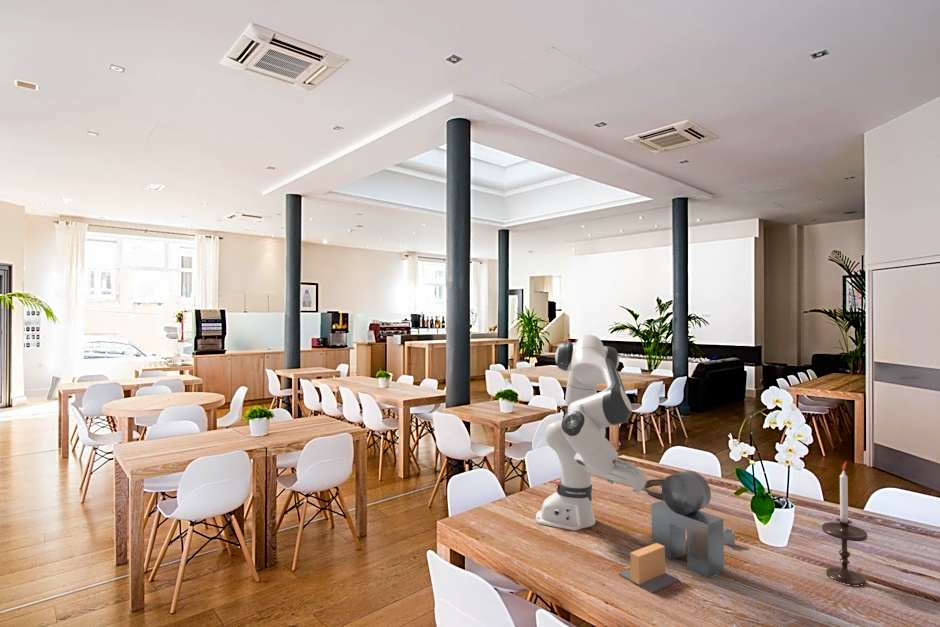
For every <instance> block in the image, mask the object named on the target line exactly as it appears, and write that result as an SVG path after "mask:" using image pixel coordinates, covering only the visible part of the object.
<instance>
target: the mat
mask: <svg viewBox="0 0 940 627" xmlns="http://www.w3.org/2000/svg"><path fill="white" fill-rule="evenodd" d="M618 576H620V577H622V578H624V579H626V580H628V581H629V580H630V582H631V583H633V584H634V585H637V583H635V582H633V581H632V580H631V570H630V568H629V569H627V570H624V571H621V572H620V573H618ZM677 582H680V579H679V578H678V577H675V576H673V575H671V574H669V573H667V572H665V573H664V574H662V575H659V576H657V577H655V578H653V579H650V580H648V581H646V582H643V583H641V584H638V585H640V586H642V587H644V588H645V589H644V588H643V589H644V590H646V589H647V590H646V591H648V590H649V591H648V592H650V591H651V592H654V591H656V590H658V591H660V590H662V589H664V587H665V588H666V586H667V587H669V586H671V585H673V584H675V583H677ZM638 585H637V586H638ZM668 585H669V586H668ZM640 586H639V587H640ZM642 587H641V588H642ZM661 588H662V589H661ZM659 589H660V590H659ZM651 592H650V593H651ZM656 592H657V591H656ZM654 593H655V592H654Z"/></svg>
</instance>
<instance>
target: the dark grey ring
mask: <svg viewBox="0 0 940 627" xmlns="http://www.w3.org/2000/svg"><path fill="white" fill-rule="evenodd" d="M664 480H665V478H663V479H661V478H657V479H649V480H648V479H647V482H646V484H645V486H644V488H643V490H644V491H645V492H647V494H649V495H650V494H651V495H650V496H652V495H653V496H652V497H655V496H656V498H658V497H660V498H659V499H663V495H662V491H661V490H660V491H661V492H654V491H650V490H648V489H647V488H649V487H652V486H661V487H660V488H662V484H663V481H664Z"/></svg>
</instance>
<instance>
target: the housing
mask: <svg viewBox="0 0 940 627" xmlns="http://www.w3.org/2000/svg"><path fill="white" fill-rule="evenodd" d="M664 479H665V480H664V481H663V484H662V495H663V498H664V499H663V498H662V499H663V500H660V501H657V502H654V503H651V545H652V544H655V543H658V544H660V545H663V546H665V558H666V559H665V560H667V559H668V560H667V561H669V560H672V561H674V560H676V559H678V557H679V558H681V557H683V555H684V556H686V561H687V562H686V566H687V570H689V571H691V570H692V571H691V572H693V571H694V572H693V573H695V572H696V574H697V573H698V575H699V576H702V577H704V576H705V578H706V577H707V578H706V579H708V578H709V579H711V578H713V577H715V576H717V575H718V574H721V573H723V572H724V571H725V562H724V561H725V560H724V559H725V557H724V556H725V554H724V553H725V552H724V550H725V548H724V535H723V530H724V518H722V517H719V516H717V515H714V514H711V513H708V512H705V511H702V510H703V509H705V508H707V506H709V504H710V503H711V497H712V492H711V488H710V486H709V484H708V482H707V480H706V479H705V478H704V476H702V475H701V474H700V473H698V472H696V471H694V470H685V471H682V472H678V473H675V474H674V473H673V474H670V475H668V476H666V477H665V478H664ZM685 554H686V555H685ZM680 556H681V557H680ZM675 558H676V559H675ZM673 559H674V560H673ZM714 575H715V576H714ZM712 576H713V577H712ZM710 577H711V578H710Z"/></svg>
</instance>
